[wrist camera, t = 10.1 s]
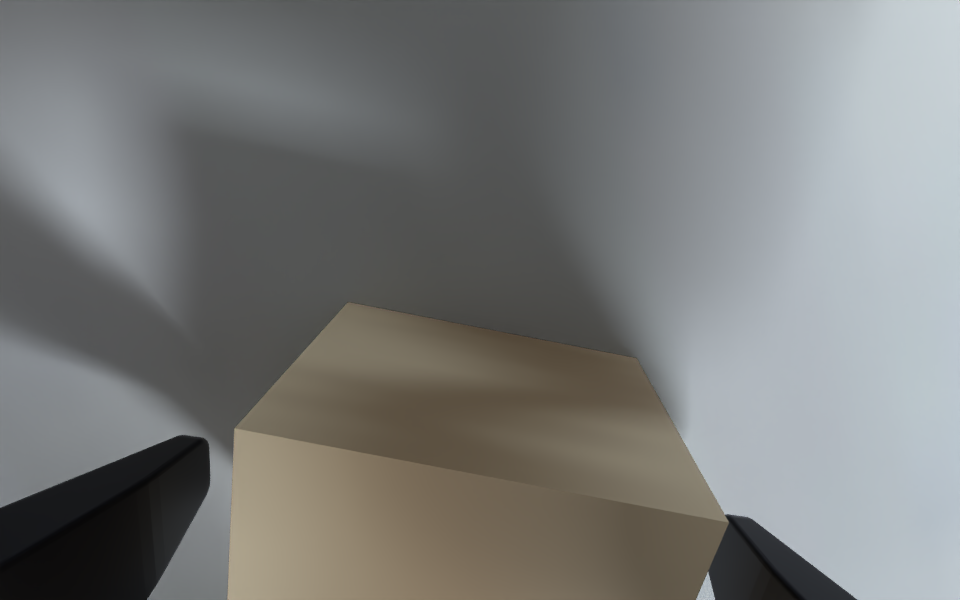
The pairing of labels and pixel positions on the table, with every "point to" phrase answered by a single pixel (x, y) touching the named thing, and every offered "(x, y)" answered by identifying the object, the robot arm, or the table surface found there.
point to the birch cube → (463, 473)
